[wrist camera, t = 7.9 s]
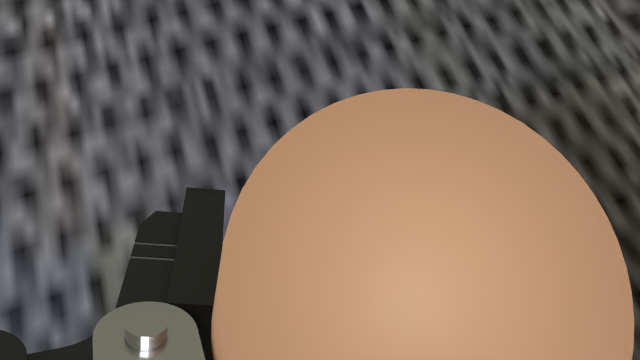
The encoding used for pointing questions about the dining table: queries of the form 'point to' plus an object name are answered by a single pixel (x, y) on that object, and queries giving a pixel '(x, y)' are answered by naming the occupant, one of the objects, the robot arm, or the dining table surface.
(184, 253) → the robot arm
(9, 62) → the dining table surface
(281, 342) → the peg
